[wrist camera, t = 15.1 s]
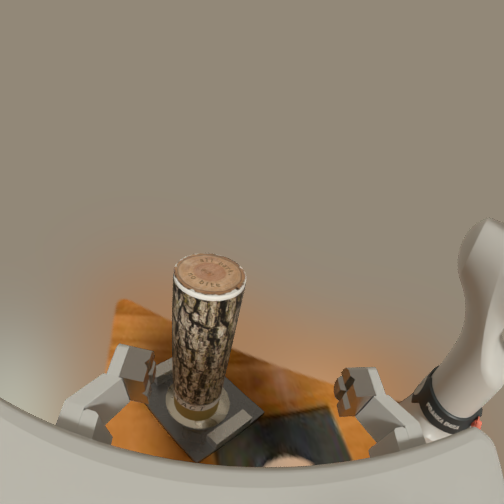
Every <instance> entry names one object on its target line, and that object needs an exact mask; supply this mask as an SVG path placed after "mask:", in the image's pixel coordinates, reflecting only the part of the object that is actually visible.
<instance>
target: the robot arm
mask: <svg viewBox="0 0 504 504" xmlns="http://www.w3.org/2000/svg"><path fill="white" fill-rule="evenodd" d="M458 273H459V278H460V281H461V284H462V287H463V291H464V296H465V308H466V309H465V310H466V311H465V320H464V325H463V328H462V331H461V334H460V336H459V338H458V340H457V341H456V343H455V345H454V346H453V348H452V349H451V351H450V353H449V354H448V355H447V357H446V358H445V359H444V361H443V362H442V363H441V364H440V365H439V366H437V367H436V368H434V369H433V370H432V371H431V373H430V374H429V375H428V376H426V377H425V378H424V379H423V380H422V382H421V383H420V384H419V385H418V386H417V388H416V389H415V391H414V392H413V393H412V394H411V395H410V396H409V397H407V398H406V399H404V400H403V401H401V402H400V403H397V402H396V401H395V400H394V399H393V398H391V397H390V396H389V395H386V394H385V391H384V388H383V385H382V383H381V380H380V377H379V374H378V371H377V369H376V368H375V367H366V368H365V367H359V368H358V367H357V368H345V369H343V371H342V372H341V373H342V376H340V377H339V378H337V380H336V382H335V385H334V395H335V397H336V398H337V399H338V400H339V402H338V403H337V408H338V413H339V417H346V416H355V417H356V418H357V420H358V421H359V422H360V423H361V424H362V426H363V427H364V428H365V429H366V430H367V432H368V433H369V434H370V435H371V436H372V438H373V439H374V440H375V441H376V442H377V443H376V444H375V445H374V446H372V447H371V448H370V449H369V455H370V458H365V459H360V460H354V461H347V462H340V463H332V464H323V465H312V466H298V467H235V466H221V465H210V464H201V463H193V462H186V461H179V460H173V459H167V458H162V457H157V456H152V455H147V454H143V453H139V452H134V451H130V450H127V449H123V448H119V447H116V446H112V445H111V442H112V438H113V437H112V435H111V434H110V432H109V431H108V429H107V428H106V426H105V425H106V424H107V423H108V422H109V421H110V420H111V419H112V418H113V417H114V416H115V415H116V414H117V413H118V412H119V411H120V410H121V409H122V408H124V407H125V406H126V405H127V404H128V403H129V402H130V400H131V401H136V402H141V403H146V404H149V401H150V397H151V393H152V389H151V385H152V384H153V383H154V380H155V375H156V362H155V361H154V357H155V355H154V351H150V350H146V349H141V348H137V347H132V346H128V345H124V344H119V345H118V346H117V348H116V350H115V353H114V355H113V358H112V360H111V363H110V366H109V368H108V371H107V374H105V373H103V374H101V375H100V376H99V377H97V378H96V379H94V380H93V381H92V382H90V383H89V384H87V385H86V386H85V387H83V388H82V389H80V390H79V391H78V392H76V393H75V394H73V395H72V396H71V397H69V398H68V399H66V400H65V402H64V405H63V407H62V410H61V412H60V415H59V418H58V420H57V423H56V425H54V424H51V423H49V422H47V421H44V420H42V419H40V418H38V417H36V416H34V415H32V414H30V413H28V412H26V411H24V410H21V409H20V408H18V407H16V406H14V405H12V404H11V403H9V402H7V401H5V400H3V399H2V398H0V504H504V480H503V475H502V470H501V466H500V462H499V458H498V455H497V451H496V448H495V445H494V443H493V441H492V439H491V438H490V437H489V436H487V435H486V434H485V433H484V432H483V431H481V425H482V422H481V421H479V418H480V417H481V416H482V406H483V405H485V403H487V402H488V401H489V400H490V398H492V397H493V396H494V395H495V394H496V393H497V391H499V390H500V389H501V387H502V386H503V385H504V342H503V338H502V330H503V329H504V223H503V222H500V221H498V220H495V219H491V218H486V219H484V220H482V221H480V222H478V223H477V224H475V225H474V226H473V227H472V228H471V229H470V230H469V231H468V233H467V234H466V236H465V237H464V239H463V241H462V244H461V247H460V250H459V255H458Z"/></svg>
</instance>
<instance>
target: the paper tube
mask: <svg viewBox="0 0 504 504" xmlns="http://www.w3.org/2000/svg"><path fill="white" fill-rule="evenodd" d="M245 285H246V274H245V271H244V270H243V268H242V267H241V266H240V265H239V264H237V263H236V262H235V261H233V260H231V259H229V258H226V257H223V256H220V255H216V254H207V253H200V254H193V255H189V256H186V257H184V258H182V259H181V260H180V261H178V262H177V264H176V265H175V267H174V274H173V301H172V367H173V393H174V405H175V408H176V410H177V411H178V412H179V413H180V414H181V415H182V416H183V417H185V418H187V419H189V420H193V421H203V420H206V419H209V418H210V417H212V416H213V415H214V414H215V412H216V411H217V409H218V405H219V400H220V396H221V392H222V388H223V383H224V379H225V374H226V370H227V365H228V361H229V356H230V352H231V348H232V343H233V339H234V334H235V330H236V325H237V321H238V316H239V312H240V307H241V302H242V298H243V294H244V289H245Z"/></svg>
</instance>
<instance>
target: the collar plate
mask: <svg viewBox="0 0 504 504" xmlns="http://www.w3.org/2000/svg"><path fill="white" fill-rule="evenodd" d="M151 389H152V393H151V397H150V401H149V404H146V403H145V405H146V406H147V407H148V409H149V410H150V411H151V413H152V414H153V415H154V416H155V418H156V419H157V420H158V421H159V423H160V424H161V425H162V426H163V427H164V429H165V430H166V431H167V432H168V433H169V435H170V436H171V437H172V438H173V439H174V440H175V442H176V443H177V444H178V445H179V446H180V447H181V448H182V449H183V450H184V452H185V453H186V454H187V455H188V456H189V457H190V458H191V459H192V460H193V461H194V462H195V463H199V462H200V461H202V460H203V459H205V458H206V457H208V456H209V455H211V454H212V453H214V452H215V451H216V450H218V449H219V448H221V447H222V446H223V445H225V444H226V443H227V442H229V441H230V440H232V439H233V438H234V437H236V436H237V435H238V434H239V433H241V432H242V431H243V430H245V429H246V428H247V427H248V426H250V425H251V424H252V423H253V422H255V421H256V420H257V419H258V418H260V417H261V416H262V415H263V414H264V411H263V410H262V409H261V408H259V407H258V406H257V405H256V404H255V403H254V402H253V401H251V400H250V399H249V398H248V397H247V396H246V395H245V394H244V393H242V392H241V391H240V390H239V389H238V388H237V387H236V386H235V385H234V384H233V383H232V382H230V381H229V380H228V379H227V378H226V377H225V379H224V383H223V388H222V392H221V396H220V400H219V405H218V409H217V411H216V412H215V414H214V415H213V416H212V417H210V418H209V419H206V420H203V421H193V420H189V419H187V418H185V417H183V416H182V415H181V414H180V413H179V412H178V411H177V410H176V408H175V405H174V393H173V367H172V358H170V359H168V360H166V361H164V362H162V363H160V364H158V365H156V375H155V380H154V383H153V384H152V385H151Z"/></svg>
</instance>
